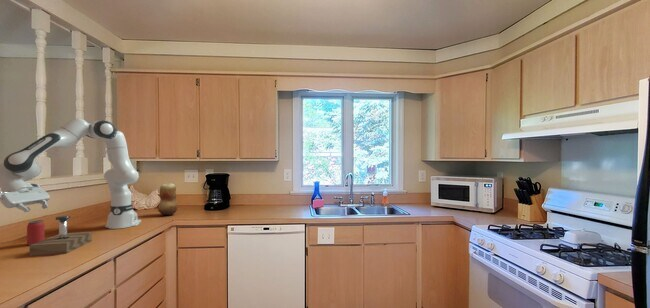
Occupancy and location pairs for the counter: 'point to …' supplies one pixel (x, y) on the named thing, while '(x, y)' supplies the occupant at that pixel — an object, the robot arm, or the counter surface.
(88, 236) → the brown flat block
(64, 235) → the steel peg
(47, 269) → the counter surface
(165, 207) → the butternut squash
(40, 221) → the beer can
